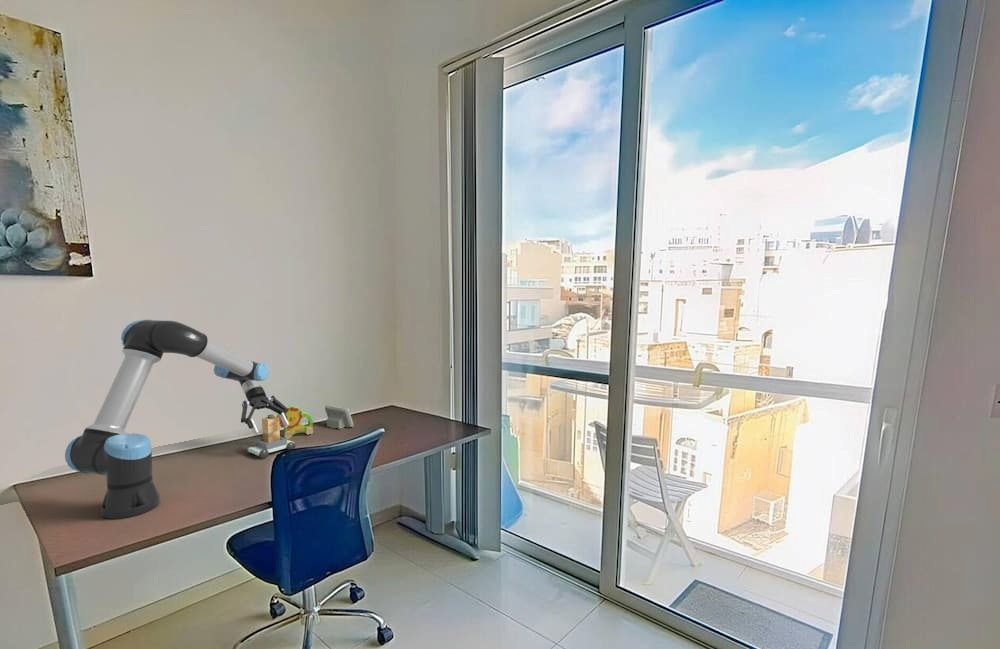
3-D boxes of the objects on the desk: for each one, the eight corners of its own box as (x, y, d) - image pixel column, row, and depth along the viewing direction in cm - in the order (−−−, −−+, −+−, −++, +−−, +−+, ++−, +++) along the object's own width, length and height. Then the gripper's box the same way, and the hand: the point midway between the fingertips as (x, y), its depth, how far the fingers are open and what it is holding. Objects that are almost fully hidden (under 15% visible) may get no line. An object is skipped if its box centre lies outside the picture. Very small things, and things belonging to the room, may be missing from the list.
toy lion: (310, 431, 235) (310, 401, 234) (314, 434, 231) (313, 404, 229) (276, 438, 225) (275, 406, 224) (279, 440, 221) (278, 409, 220)
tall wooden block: (268, 447, 203) (267, 417, 202) (262, 445, 205) (261, 415, 204) (280, 444, 207) (279, 415, 206) (274, 442, 210) (273, 413, 208)
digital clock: (355, 427, 242) (354, 407, 241) (339, 431, 235) (339, 411, 234) (337, 421, 252) (337, 402, 252) (322, 425, 245) (321, 405, 245)
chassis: (259, 459, 197) (259, 446, 196) (246, 454, 203) (246, 441, 203) (295, 449, 209) (295, 437, 209) (282, 444, 216) (282, 432, 215)
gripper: (277, 391, 225) (296, 427, 217) (222, 401, 205) (239, 442, 197) (283, 381, 221) (302, 418, 213) (227, 390, 201) (245, 432, 193)
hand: (272, 429), depth 205 cm, fingers open, 13 cm apart
